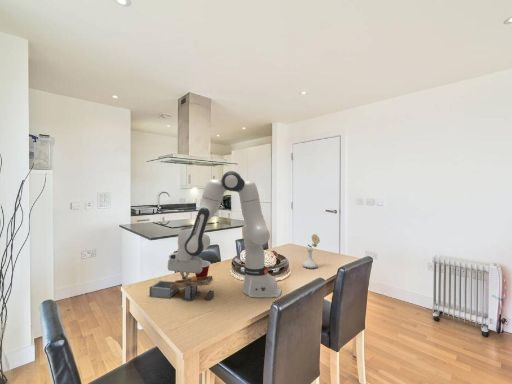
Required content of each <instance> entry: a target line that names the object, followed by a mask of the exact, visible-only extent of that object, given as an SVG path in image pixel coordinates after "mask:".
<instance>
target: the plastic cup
mask: <svg viewBox="0 0 512 384" xmlns="http://www.w3.org/2000/svg"><path fill="white" fill-rule="evenodd" d="M210 266H211V262H210V261H208V260H203V259H202V272H201V273H199V274H198V273H194V274H195V275H194V276H195V277H197V278H199V277H207V276H209V275H208V273H209V270H210V269H209V268H210Z"/></svg>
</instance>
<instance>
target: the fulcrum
mask: <svg viewBox="0 0 512 384" xmlns="http://www.w3.org/2000/svg"><path fill="white" fill-rule="evenodd" d="M198 287H199V286H193V287H191V286H189V285H186V286H185V288H184V296H183V297H182V298H181V301H185V302H186V301H187V302H193V301H194V300H196V298H198V296H199V295H200V294H201V293H202V292H201V291H199V290H198Z"/></svg>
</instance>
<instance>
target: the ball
mask: <svg viewBox="0 0 512 384" xmlns="http://www.w3.org/2000/svg"><path fill="white" fill-rule="evenodd" d="M191 277H192V278H191V281H192V282H195V281H197V277H196V275H193V276H191Z"/></svg>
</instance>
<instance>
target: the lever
mask: <svg viewBox="0 0 512 384" xmlns="http://www.w3.org/2000/svg"><path fill="white" fill-rule="evenodd" d="M192 277H193V276H190V277H189V276H188V279H180V280H175V281H174V282H175V284H172V285H169V286H170V288H171V289H177V288H179V289H183V288H184V289H185V286H186V285H189V286H191V287H193V286H198V287H199V286H206V285H209V284H211V282H212V281H213V280H214V278H213V275H207V277H199V278H197V281H195V282H192V281H191V278H192Z"/></svg>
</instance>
